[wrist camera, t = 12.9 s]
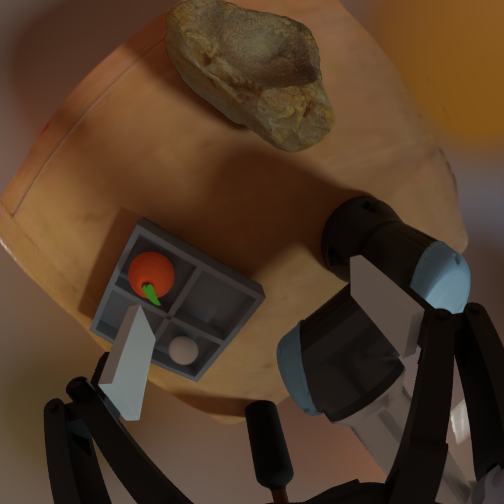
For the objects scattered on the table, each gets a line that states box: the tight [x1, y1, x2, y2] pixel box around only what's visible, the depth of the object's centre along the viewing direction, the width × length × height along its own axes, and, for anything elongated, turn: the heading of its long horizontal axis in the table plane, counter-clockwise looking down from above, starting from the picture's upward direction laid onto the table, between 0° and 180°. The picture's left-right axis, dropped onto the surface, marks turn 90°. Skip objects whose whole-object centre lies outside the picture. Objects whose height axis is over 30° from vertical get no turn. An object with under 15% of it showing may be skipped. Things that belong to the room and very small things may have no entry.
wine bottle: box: [245, 400, 294, 503], centre depth 45 cm, size 8×8×30 cm
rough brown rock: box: [164, 0, 335, 152], centre depth 28 cm, size 23×17×15 cm
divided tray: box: [90, 217, 266, 382], centre depth 44 cm, size 22×22×4 cm
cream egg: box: [169, 336, 198, 365], centre depth 45 cm, size 5×5×5 cm
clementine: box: [128, 251, 174, 305], centre depth 39 cm, size 8×7×7 cm
